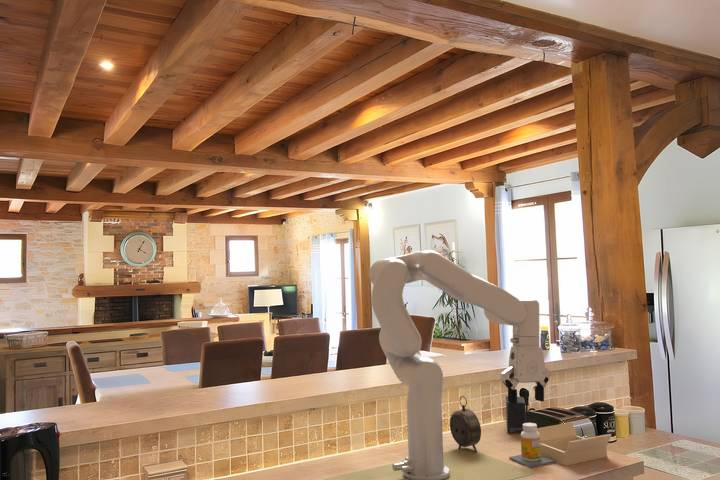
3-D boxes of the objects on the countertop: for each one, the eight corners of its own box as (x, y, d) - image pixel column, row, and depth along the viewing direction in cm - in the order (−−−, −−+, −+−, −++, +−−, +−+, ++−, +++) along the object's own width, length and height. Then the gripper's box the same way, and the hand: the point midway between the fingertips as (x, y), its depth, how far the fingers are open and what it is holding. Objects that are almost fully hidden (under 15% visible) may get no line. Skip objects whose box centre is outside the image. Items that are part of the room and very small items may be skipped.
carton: (571, 467, 162) (570, 441, 162) (532, 452, 177) (531, 428, 177) (613, 459, 168) (611, 434, 169) (571, 445, 183) (570, 422, 183)
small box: (527, 434, 197) (526, 402, 198) (507, 433, 198) (506, 402, 199) (525, 426, 207) (523, 396, 208) (506, 425, 209) (504, 395, 209)
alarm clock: (483, 452, 178) (480, 398, 179) (468, 455, 176) (466, 400, 177) (461, 443, 188) (459, 392, 189) (447, 446, 186) (445, 394, 187)
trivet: (530, 467, 163) (529, 465, 163) (509, 459, 171) (509, 457, 171) (555, 462, 167) (555, 460, 167) (533, 454, 175) (533, 452, 175)
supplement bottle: (517, 457, 171) (516, 423, 171) (533, 455, 172) (532, 421, 173) (528, 462, 166) (526, 427, 166) (545, 460, 167) (543, 425, 168)
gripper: (510, 343, 164) (510, 406, 163) (558, 342, 171) (558, 402, 170) (493, 341, 171) (493, 401, 170) (540, 339, 178) (540, 397, 177)
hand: (526, 401), depth 170 cm, fingers open, 9 cm apart
